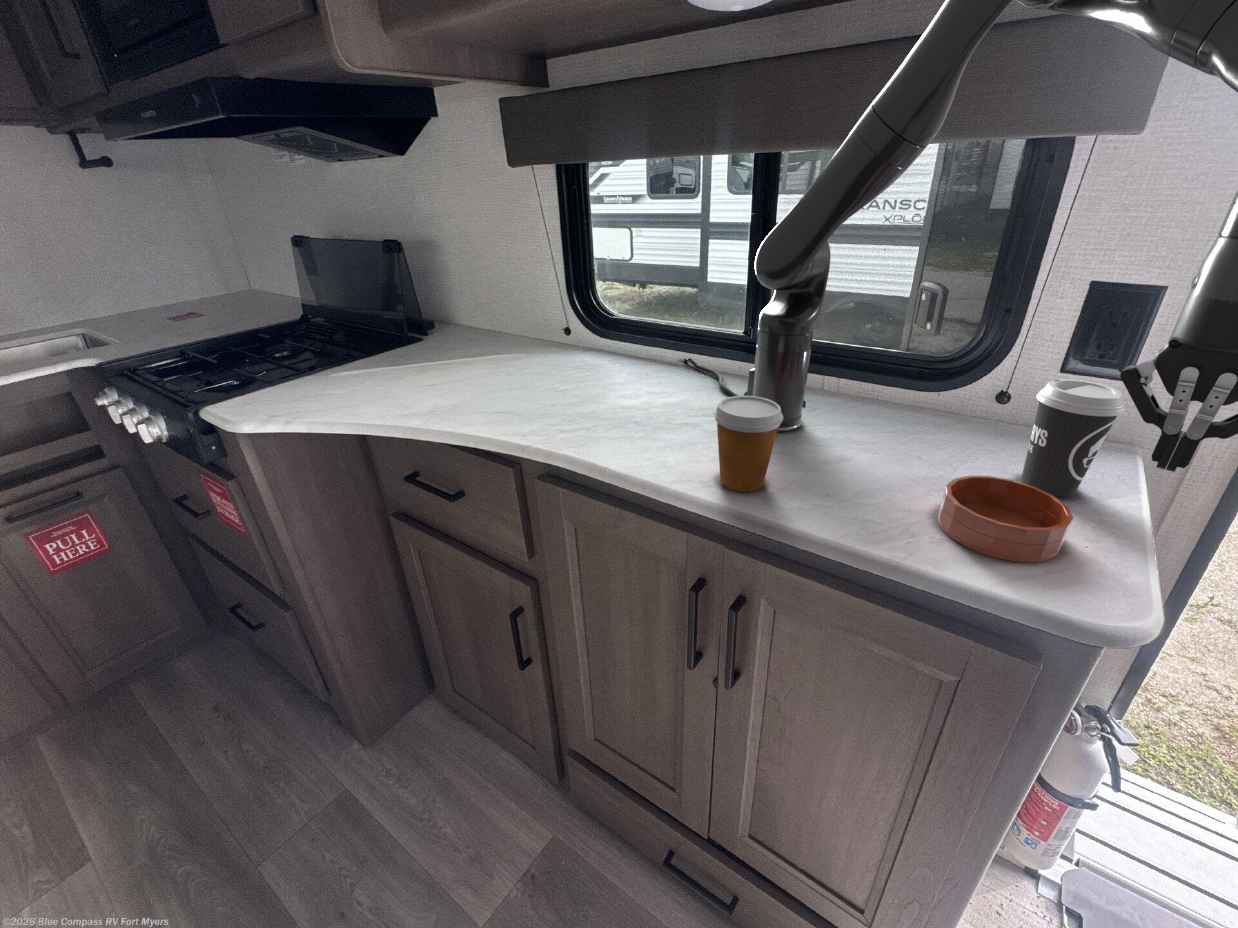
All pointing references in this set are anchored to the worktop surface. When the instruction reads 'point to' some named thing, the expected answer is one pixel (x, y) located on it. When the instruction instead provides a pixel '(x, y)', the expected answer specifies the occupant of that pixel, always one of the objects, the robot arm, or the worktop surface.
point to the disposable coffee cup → (746, 440)
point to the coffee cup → (1068, 433)
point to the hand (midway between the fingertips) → (1166, 467)
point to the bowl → (1004, 518)
